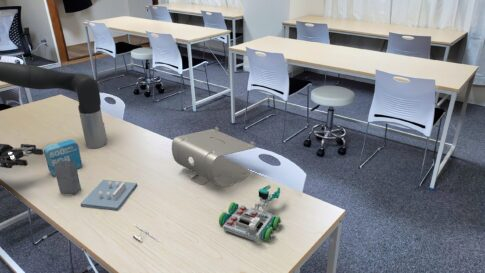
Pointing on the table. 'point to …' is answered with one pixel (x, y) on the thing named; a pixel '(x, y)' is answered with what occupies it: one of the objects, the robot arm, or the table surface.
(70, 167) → the dark grey rectangular block
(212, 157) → the curved metal cover
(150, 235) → the picture light
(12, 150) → the robot arm
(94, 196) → the pin tray
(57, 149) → the data package
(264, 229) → the robot kit
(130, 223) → the table surface
